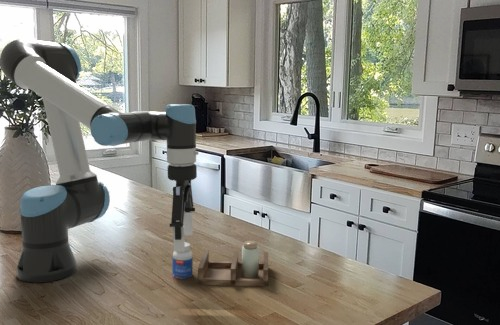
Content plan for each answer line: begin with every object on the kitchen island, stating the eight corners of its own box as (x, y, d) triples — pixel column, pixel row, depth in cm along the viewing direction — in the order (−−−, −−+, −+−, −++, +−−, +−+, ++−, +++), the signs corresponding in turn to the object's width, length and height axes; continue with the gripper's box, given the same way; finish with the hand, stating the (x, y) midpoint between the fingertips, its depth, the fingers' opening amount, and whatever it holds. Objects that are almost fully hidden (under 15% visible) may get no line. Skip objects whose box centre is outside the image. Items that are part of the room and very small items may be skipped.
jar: (241, 278, 128) (241, 245, 127) (241, 272, 133) (242, 240, 131) (258, 279, 128) (259, 246, 127) (258, 272, 133) (259, 240, 131)
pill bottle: (173, 283, 128) (173, 248, 126) (171, 276, 133) (170, 241, 131) (194, 281, 129) (194, 246, 127) (191, 274, 134) (191, 240, 133)
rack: (197, 288, 125) (197, 268, 124) (204, 269, 138) (204, 250, 137) (267, 290, 124) (268, 269, 123) (267, 271, 137) (268, 252, 136)
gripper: (188, 172, 113) (190, 258, 117) (202, 157, 138) (203, 229, 141) (156, 171, 114) (159, 258, 117) (176, 157, 138) (178, 229, 141)
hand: (183, 242), depth 129 cm, fingers open, 13 cm apart
